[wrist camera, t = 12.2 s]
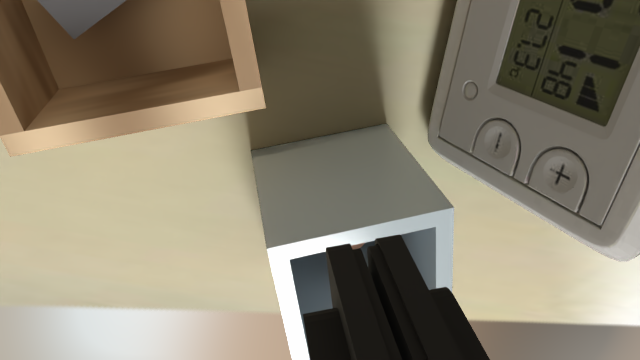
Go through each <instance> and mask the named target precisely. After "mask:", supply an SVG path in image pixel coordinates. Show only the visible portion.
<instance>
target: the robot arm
mask: <svg viewBox="0 0 640 360" xmlns="http://www.w3.org/2000/svg"><path fill="white" fill-rule="evenodd" d="M326 258H327V266H328V274H329V282H330V291H331V299H332V307H333V308H331V309H326V310H321V311H316V312H310V313H305V314H303V319H304V325H305V331H306V337H307V343H308V349H309V355H310V360H490V359H489V357H488V356H487V354H486V352H485V350H484V349H483V347H482V345H481V343H480V341H479V340H478V338H477V336H476V334H475V332H474V331H473V329H472V327H471V325H470V324H469V322H468V320H467V318H466V317H465V315H464V313H463V311H462V309H461V308H460V306H459V304H458V302H457V301H456V299H455V297H454V295H453V294H452V292H451V291H450V289H449V288H447V287H442V288H436V289H431V290H429V289H428V287H427V285H426V283H425V281H424V279H423V277H422V275H421V273H420V271H419V269H418V267H417V266H416V264H415V262H414V260H413V258H412V256H411V254H410V252H409V250H408V248H407V246H406V244H405V242H404V240H403V238H402V236H401V235H393V236H388V237H382V238H377V239H375V246H369V247H367V258H368V266H367V263H366V261H365V258H364V255H363V253H362V250H361V248H358V249H353V250H352V247H351V244H350V243H349V244H343V245H338V246H332V247H327V248H326Z"/></svg>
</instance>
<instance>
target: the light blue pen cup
mask: <svg viewBox="0 0 640 360" xmlns="http://www.w3.org/2000/svg"><path fill="white" fill-rule="evenodd" d="M251 154H252V160H253V166H254V173H255V179H256V185H257V191H258V198H259V204H260V210H261V216H262V223H263V229H264V235H265V241H266V247H267V252H268V257H269V261H270V265H271V270H272V274H273V278H274V283H275V287H276V291H277V296H278V300H279V304H280V309H281V313H282V317H283V322H284V326H285V330H286V334H287V339H288V343H289V348H290V352H291V356H292V360H310V355H309V349H308V343H307V337H306V331H305V325H304V319H303V314H305V313H310V312H316V311H321V310H326V309H331V308H333V307H332V299H331V291H330V282H329V274H328V266H327V258H326V248H327V247H332V246H338V245H343V244H349V243H350V244H351V246H352V245H357V244H361V243H365V244H364V245H363V246H362V247H361V250H362V253H363V255H364V258H365V261H366V263H367V266H368V258H367V247H369V246H375V239H377V238H382V237H388V236H393V235H401V236H402V238H403V240H404V242H405V244H406V246H407V248H408V250H409V252H410V254H411V256H412V258H413V260H414V262H415V264H416V266H417V267H418V269H419V271H420V273H421V275H422V277H423V279H424V281H425V283H426V285H427V287H428V289H429V290H431V289H436V288H442V287H447V288H449V289H450V291H451V292H452V272H453V230H454V207H453V206H452V204H451V203H450V202H449V201H448V199H447V198H446V197H445V196H444V194H443V193H442V192H441V191H440V189H439V188H438V187H437V186H436V184H435V183H434V182H433V181H432V179H431V178H430V177H429V176H428V174H427V173H426V172H425V171H424V169H423V168H422V167H421V166H420V164H419V163H418V162H417V161H416V159H415V158H414V157H413V156H412V154H411V153H410V152H409V151H408V149H407V148H406V147H405V146H404V144H403V143H402V142H401V141H400V139H399V138H398V137H397V136H396V135H395V133H394V132H393V131H392V130H391V128H390V127H389V126H388V125H387V124H382V125H377V126H372V127H367V128H362V129H357V130H352V131H347V132H342V133H337V134H332V135H327V136H322V137H317V138H312V139H307V140H302V141H297V142H292V143H287V144H282V145H277V146H272V147H267V148H262V149H256V150H251Z"/></svg>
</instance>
